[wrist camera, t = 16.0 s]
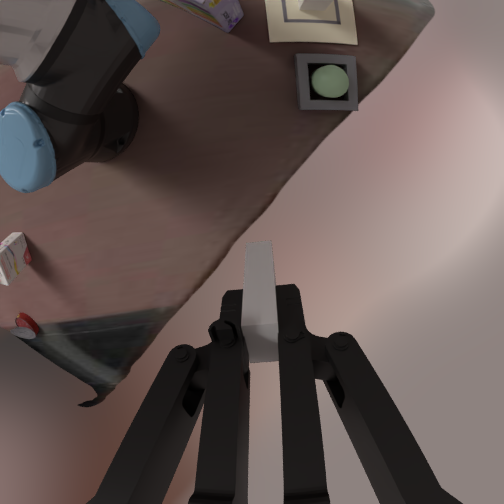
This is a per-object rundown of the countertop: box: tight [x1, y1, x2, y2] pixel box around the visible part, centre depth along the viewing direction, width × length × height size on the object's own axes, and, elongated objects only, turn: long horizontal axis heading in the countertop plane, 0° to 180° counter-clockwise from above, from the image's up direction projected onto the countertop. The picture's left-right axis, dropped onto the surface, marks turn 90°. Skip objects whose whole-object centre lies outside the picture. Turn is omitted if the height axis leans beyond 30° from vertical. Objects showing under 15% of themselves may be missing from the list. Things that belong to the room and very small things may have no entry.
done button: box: [309, 65, 349, 98], centre depth 35 cm, size 5×5×4 cm
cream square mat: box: [265, 0, 358, 45], centre depth 29 cm, size 14×16×1 cm
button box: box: [294, 53, 358, 111], centre depth 36 cm, size 9×9×3 cm
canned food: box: [11, 313, 39, 339], centre depth 70 cm, size 11×10×10 cm
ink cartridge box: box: [0, 232, 32, 285], centre depth 49 cm, size 9×5×15 cm, turn 177°
